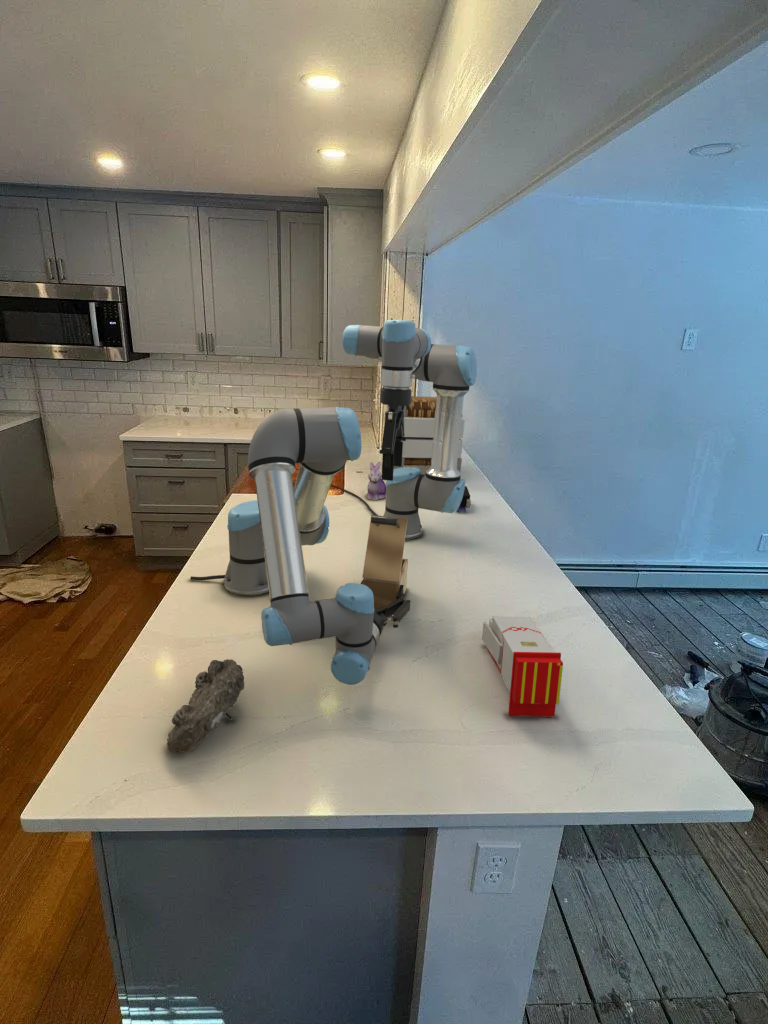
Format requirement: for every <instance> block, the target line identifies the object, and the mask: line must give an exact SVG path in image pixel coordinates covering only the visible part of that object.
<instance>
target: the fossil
mask: <svg viewBox="0 0 768 1024" xmlns="http://www.w3.org/2000/svg"><path fill="white" fill-rule="evenodd" d="M243 670H244V669H243V667H242V665H240V664H237V662H236V661H235V660H234V659H232V658H231V659H227V658H226V659H224V660H223V661H222V660H217V659H212V660H211V661H210V663H209V665H208V666H207V671H201V672H199V673H198V674H197V675H196V676H195V680H194V684H195V685H194V687H195V689H194V690H193V693H192V694H191V697H190V698H189V700H188V704H184V705H182V706H181V707H180V709H177V710H176V711H175V713H174V715H173V716H172V718H171V723H172V724H173V727H172V730H171V731H170V732H168V734H167V738H166V741H167V742H166V745H167V749H168V750H169V751H173V752H174V753H176V754H178V753H182V752H188V751H189V752H192V751H193V750H195V748H196V747H197V746H199V744H200V743H201V742H203V741H204V740H205V739H206V738H207V737H208V736H209V735H210V734H211V733H212V732H214V730H215V729H217V727H218V726H219V724H220V722H221V721H222V720H223V719H224V718H225V716H226V717H227V719H229V720H233V717H232V715H230V714H229V710H230V709H231V708H234V706H235V704H236V703H237V702H238V699H239V697H240V695H241V693H242V691H243V690H245V689H244V688H245V675H244V671H243Z"/></svg>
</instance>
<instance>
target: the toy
mask: <svg viewBox="0 0 768 1024" xmlns="http://www.w3.org/2000/svg"><path fill="white" fill-rule="evenodd" d="M481 632H482V633H481V640H482V642H483V644H484V646H485V648H486V650H487V652H488V654H489V655H490V657H491V659H492V661H493V663H494V664H495V666H496V668H497V670H498V671H499V674H500V676H501V678H502V680H503V682H504V684H505V687H506V688H507V690H508V692H509V700H508V702H509V703H508V710H507V711H508V712H507V715H508V717H551V718H552V717H553V718H555V716H556V707H557V705H559V704H560V698H561V697H560V695H561V688H562V687H561V686H562V678H563V669H564V662H563V661H562V653H561V652H556V651H555V649H554V648H553V647H552V645H551V644H550V643H549V641H548V639H547V638H546V637H545V635H544V634H543V633H542V631H541V630H540V629H539V628H538V626H537V624H536V622H535V621H534V620H533V619H532V617H531V616H514V615H513V616H512V615H511V616H508V615H507V616H506V615H505V616H504V615H492V618H489V620H488V623H487V621H483V623H482V631H481Z"/></svg>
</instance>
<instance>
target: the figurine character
mask: <svg viewBox="0 0 768 1024" xmlns="http://www.w3.org/2000/svg"><path fill="white" fill-rule="evenodd" d="M471 501H472V500H471V494H470V491H469V488H468V486H467V485H465V490H464V494H463V498H462V501H461V503H460V505H459V507H458V509H457V510H456V512H460V510H463V511H464V513H466V512H467V509H470V508H471V505H472V504H471ZM466 508H467V509H466Z"/></svg>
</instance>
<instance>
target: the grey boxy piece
mask: <svg viewBox="0 0 768 1024" xmlns="http://www.w3.org/2000/svg"><path fill="white" fill-rule="evenodd" d="M436 399H437V396H415V395H414V396H413V395H411V404H410V405H407V406H404V434H405V436H404V437H406V441H401V442H403V452H402V466H401V467H400V466H394V469H397V468H403V467H405V466H406V467H417V466H418V467H431V459H432V447H433V435H434V423H435V411H436ZM388 409H389V406H388V405H386V411H388ZM464 429H465V419H464V418H463V417H462V418H461V429H460V439H459V449H458V459H457V470H458V471H459V472H460V473H461V472H462V461H463V460H462V453H463V442H464V441H463V440H462V439H463V438H464V431H465V430H464Z"/></svg>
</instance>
